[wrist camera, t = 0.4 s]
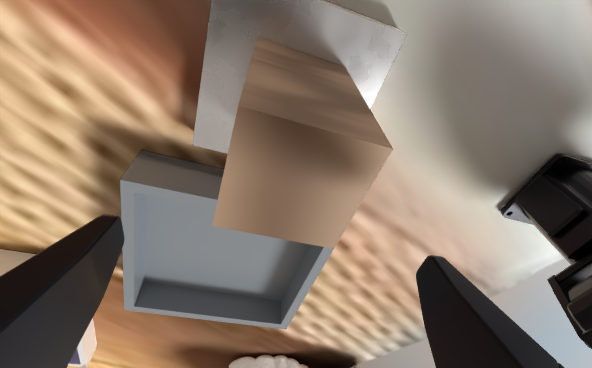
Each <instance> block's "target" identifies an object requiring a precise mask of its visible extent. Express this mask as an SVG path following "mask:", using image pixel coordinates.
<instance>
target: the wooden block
mask: <svg viewBox="0 0 592 368" xmlns="http://www.w3.org/2000/svg"><path fill="white" fill-rule="evenodd" d="M392 150H393V148H392V146H391V145H390V143H389V141H388V140H387V138H386V136H385V134H384V133H383V131H382V129H381V127H380V126H379V124H378V122H377V121H376V119H375V117H374V115H373V114H372V112H371V110H370V108H369V107H368V105H367V103H366V102H365V100H364V98H363V96H362V95H361V93H360V91H359V89H358V88H357V86H356V84H355V83H354V81H353V79H352V77H351V76H350V74H349V72H348V71H347V69H346V67H345V66H343V65H340V64H337V63H334V62H331V61H328V60H325V59H322V58H319V57H316V56H313V55H310V54H307V53H304V52H301V51H298V50H295V49H292V48H289V47H286V46H283V45H280V44H277V43H274V42H271V41H268V40H265V39H262V38H259V37H257V40H256V44H255V47H254V51H253V54H252V58H251V62H250V65H249V69H248V72H247V76H246V79H245V83H244V87H243V90H242V94H241V97H240V101H239V104H238V109H237V113H236V118H235V123H234V127H233V132H232V136H231V141H230V146H229V150H228V155H227V159H226V164H225V169H224V173H223V178H222V182H221V187H220V192H219V196H218V201H217V205H216V210H215V215H214V219H213V224H212V226H215V227H220V228H225V229H231V230H236V231H241V232H247V233H252V234H257V235H263V236H268V237H273V238H279V239H284V240H289V241H295V242H300V243H305V244H311V245H316V246H321V247H327V248H332V249H334V248H335V246H336V244H337V243H338V241H339V239H340V238H341V236H342V234H343V233H344V231H345V229H346V227H347V226H348V224H349V222H350V221H351V219H352V217H353V216H354V214H355V212H356V211H357V209H358V207H359V206H360V204H361V202H362V200H363V199H364V197H365V195H366V194H367V192H368V190H369V189H370V187H371V185H372V184H373V182H374V180H375V178H376V177H377V175H378V173H379V172H380V170H381V168H382V167H383V165H384V163H385V162H386V160H387V158H388V157H389V155H390V153H391V151H392Z"/></svg>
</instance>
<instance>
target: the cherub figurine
mask: <svg viewBox="0 0 592 368" xmlns="http://www.w3.org/2000/svg"><path fill="white" fill-rule="evenodd" d="M229 368H308V367H307V366H306V365H303V364H299V363H298V361H296V360H295V359H293V358H287V357H286V356H284V355H278V356H275V357H273V356H270V355H261V356H259V357H257V358H256V359H255V358H252V357H242V358H239V359H237V360H234V361H233V362H231V363H230V365H229ZM354 368H360V367H359V366H357V365H356V366H355V367H354Z"/></svg>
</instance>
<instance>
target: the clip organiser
mask: <svg viewBox="0 0 592 368" xmlns="http://www.w3.org/2000/svg"><path fill="white" fill-rule="evenodd" d="M34 255H36V254H31V253H24V252H17V251H11V250H4V249H0V276H1V275H3V274H5V273H6V272H8V271H10V270H11V269H13V268H15V267H16V266H18V265H20V264H21V263H23V262H24V261H26V260H28V259H29V258H31V257H33V256H34ZM96 347H97V341H96V335H95V328H94V322H93V318H92V320H91V322H90V324H89V326H88V328H87V330H86V331H85V333H84V335H83V337H82V339H81V341H80V343H79V345H78V347H77V349H76V351H75V353H74V354H73V356H72V358H71V360H70V362H69V364H68V366H78V367H87V366H88V364H89V362H90V360H91V358H92V355H93V353H94V351H95V349H96Z"/></svg>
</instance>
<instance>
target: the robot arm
mask: <svg viewBox="0 0 592 368" xmlns="http://www.w3.org/2000/svg"><path fill="white" fill-rule="evenodd" d="M501 214H502V215H503V216H504V217H505V218H509V219H513V220H517V221H521V222H525V223H529V224H533V225H534V226H535V227H536V228H537V229H538V230H539V231H540V232H541V233H542V234H543V235H544V236H545V237H546V239H547V240H548V241H549V242H550V243H551V244H552V245H553V246H554V247H555V248H556V249H557V250H558V251H559V252H560V253H561V255H562V256H563V257H564V258H565V259H566V260H567V261H568V262H569V263H570V264H571V265H570V266H569V267H567V268H566V269H564V270H563V271H561V272H560V273H559V274H557V275H556V276H555V275H553V276H552V277H550V278H549V279H548V282H549V284H550V285H551V287H552V289H553V292H554V294H555V295H556V297H557V299H558V301H559V302H560V304H561V306H562V308H563V310H564V311H565V313H566V315H567V317H568V318H569V320H570V322H571V324H572V326H573V327H574V329H575V331H576V333H577V334H578V336H579V337H580V339H581V340H583V341H584V342H585V344H586V345H587V346H588V347H589V348H591V349H592V163H591V162H587V161H584V160H581V159H578V158H575V157H572V156H569V155H566V154H557V155H555V156H554V157H553V158H552V159H551V160H550V161H549V162H548V163H547V164H546V165H545V166H544V167H543V168H542V169H541V170H540V171H539V172H538V173H537V174H536V175H535V176H534V177H533V178H532V179H531V180H530V181H529V182H528V183H527V184H526V185H525V186H524V187H523V188H522V190H521V191H520V192H519V193H518V194H517V195H516V196H515V197H514V198H513V199H512V200H511V201H510V202H509V203H508V204H507V205H506V206H505V207H504V208H503V209H502V210H501ZM124 240H125V237H124V231H123V226H122V221H121V218H120V217H119V216H114V215H106V214H105V215H101V216H99V217H97V218H96V219H94V220H92V221H91V222H89V223H87V224H86V225H84V226H82V227H81V228H79V229H77V230H76V231H74V232H72V233H71V234H69V235H67V236H66V237H64V238H63V239H61V240H59V241H58V242H56V243H54V244H53V245H51V246H49V247H48V248H46V249H44V250H43V251H41V252H39V253H38V254H36V255H34V256H33V257H31V258H29V259H28V260H26V261H24V262H23V263H21V264H20V265H18V266H16V267H15V268H13V269H11V270H10V271H8V272H6V273H5V274H3V275H1V276H0V368H67V366H68V364H69V362H70V360H71V358H72V356H73V354H74V353H75V351H76V349H77V347H78V345H79V343H80V341H81V339H82V337H83V335H84V333H85V331H86V330H87V328H88V326H89V324H90V322H91V320H92V318H93V316H94V314H95V312H96V310H97V309H98V307H99V305H100V303H101V301H102V298H103V296H104V294H105V291H106V289H107V286H108V284H109V281H110V279H111V276H112V273H113V271H114V268H115V266H116V263H117V261H118V258H119V255H120V253H121V250H122V248H123V245H124ZM416 280H417V286H418V292H419V298H420V303H421V309H422V315H423V320H424V325H425V329H426V333H427V337H428V340H429V344H430V348H431V351H432V355H433V358H434V362H435V366H436V368H564V367H563V366H562V365H561V364H559V363H557V361H556V360H555V359H554V358H553V357H552V356H551V355H550V354H548V352H547V351H545V350H544V349H543V348H542V347H541V346H540V345H539V344H538V343H536V342H535V341H534V340H533V339H532V338H531V337H530V336H529V335H528V334H527V333H526V332H525V331H523V330H522V329H521V328H520V327H519V326H518V325H517V324H516V323H515V322H514V321H513V320H512V319H510V318H509V317H508V316H507V315H506V314H505V313H504V312H503V311H502V310H500V309H499V308H498V307H497V306H496V305H495V304H494V303H493V302H492V301H491V300H490V299H489V298H487V297H486V296H485V295H484V294H483V293H482V292H481V291H480V290H479V289H478V288H477V287H475V286H474V285H473V284H472V283H471V282H470V281H469V280H468V279H467V278H466V277H465V276H463V275H462V274H461V273H460V272H459V271H458V270H457V269H456V268H455V267H454V266H453V265H451V264H450V263H449V262H448V261H447V260H446V259H445V258H443V257H441V256H434V255H430V256H428V257H427V258H426V259H425V261H424V262H423V263H422V265H421V266H420V268H419V269H418V271H417V274H416Z"/></svg>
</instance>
